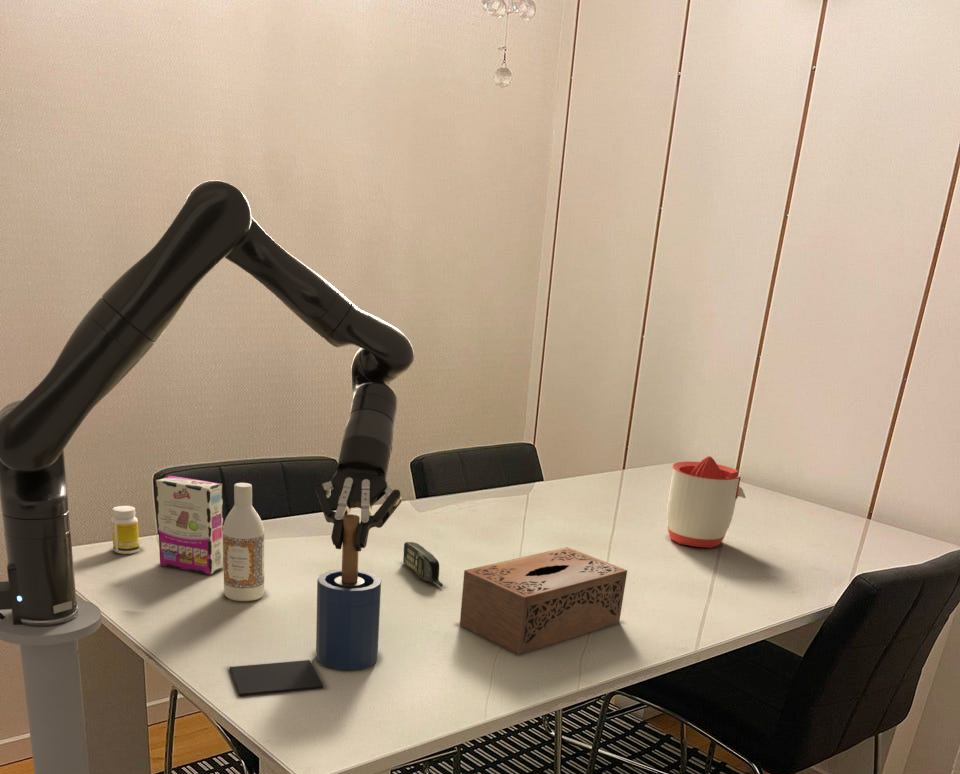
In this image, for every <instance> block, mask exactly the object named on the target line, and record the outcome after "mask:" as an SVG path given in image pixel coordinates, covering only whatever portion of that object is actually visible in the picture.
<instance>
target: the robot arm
mask: <svg viewBox="0 0 960 774" xmlns="http://www.w3.org/2000/svg"><path fill="white" fill-rule="evenodd" d="M177 213H178V214H177V215H176V217H175V218H174V219H173V221H172V222H171V224H170V225H169V226H168V227H167V229H166V231H165V232H164V234H163V235H162V236H161V238H160V239H159V240H158V241H157V243H156V244H155V245H154V246H153V247H152V248H151V249H150V250H149V251H148V252H147V253H146V254H145V255H144V256H143V257H141V258H140V259H139V260H138V261H137V262H135V263H134V264H133V265H131V267H130V268H128V269H127V270H126V271H125V272H124V273H123V274H122V275H121V276H119V278H117V280H115V281H114V283H113V284H111V285H110V286H109V287H108V289H106V290H105V292H103V294H102V295H101V297H99V299H98V300H97V301H96V302H95V303H94V305H92V306H91V308H90V309H89V310H88V311H87V313H86V314H85V315H84V316H83V318H82V319H81V321H79V323H78V324H77V326H76V327H75V329H74V330H73V332H72V333H71V335H70V336H69V338H68V340H67V341H66V343H65V345H64V346H63V348H62V350H61V352H60V353H59V355H58V357H57V359H56V361H55V363H54V364H53V366H52V367H51V368H50V370H49V371H48V373H47V374H46V376H45V377H43V379H42V380H41V381H40V382H39V384H37V386H35V387H34V388H33V390H31V392H29V393H28V394H27V395H26V396H25V397H24V398H23V399H20V400H15V401H12V402H10V403H8V404H6V405H5V406H4V407H2V409H1V410H0V508H1V509H0V510H1V516H2V525H3V533H4V534H3V535H4V543H5V551H6V560H7V563H6V564H7V565H6V571H7V573H6V574H7V581H0V610H7V609H12V616H13V624H14V625H26V626H33V627H48V626H56V625H61V624H64V623H67V622H70V621H72V620H74V619H75V618H76V617H77V616H78V606H77V600H76V599H77V591H76V589H77V588H76V579H75V569H74V567H75V566H74V555H73V547H72V534H71V522H70V511H69V496H68V483H67V482H68V481H67V473H66V462H65V461H66V460H65V448H66V446H67V445H68V443H69V442H70V441H71V439H72V437H73V436H74V434H75V433H76V431H77V430H78V429H79V427H80V426H81V425H82V424H83V422H84V421H85V419H86V417H87V416H88V415H89V414H90V413H91V411H92V410H93V409H94V408H95V407H96V406H97V405H98V404H99V403H100V402H101V400H103V399H104V398H105V397H106V396H107V395H108V394H109V393H110V392H112V390H113V389H114V388H115V387H116V386H117V385H118V384H119V383H120V382H122V380H123V379H124V378H125V377H126V376H127V375H128V374H129V372H131V371H132V369H134V368H135V367H136V365H138V363H139V362H140V361H141V360H142V359H144V356H145V355H146V354H147V353H148V352H149V351H150V350H151V349H152V347H153V346H154V345H155V343H156V342H158V340H159V339H160V338H161V336H163V334H164V332H165V331H166V330H167V329H168V327H169V326H170V324H171V323H172V322H173V320H174V319H175V317H177V315H178V313H179V311H180V310H181V309H182V307H183V306H184V304H185V303H186V301H187V299H188V298H189V296H190V295H191V294H192V292H193V291H194V289H195V288H196V287H197V286H198V284H199V283H200V282H201V281H202V280H203V279H204V278H205V277H206V276H207V275H208V274H209V273H210V272H211V271H212V270H213V269H214V268H215V267H216V266H217V265H218V264H219V263H221V261H222V260H223V259H225V260H227V261H229V262H231V263H232V264H234V265H235V266H237V267H238V268H239V269H241V270H243V271H244V272H245V273H247V274H248V275H250V276H251V277H252V278H254V279H255V280H256V281H257V282H258V283H260V284H261V286H264V288H266V290H268V291H269V292H270V293H271V294H272V295H274V297H276V298H277V299H278V300H279V301H280V302H281V303H283V305H284V306H286V307H287V309H289V310H290V311H291V312H292V313H293V314H294V315H295V316H296V317H297V318H299V319H300V320H301V321H302V322H303V323H304V324H305V325H307V326H308V327H309V328H310V329H312V330H313V331H314V332H315V333H317V334H318V335H319V336H320V337H321V338H322V339H324V341H326V342H327V343H328V344H330V345H331V346H333V347H334V348H339V349H340V348H344V347H347V346H356V347H359V349H358V350H357V351H356V353H355V355H354V357H353V360H352V364H351V367H350V377H351V390H352V396H353V397H352V399H351V403H350V410H349V415H348V420H347V422H346V425H345V428H344V432H343V436H342V441H341V447H340V452H339V456H338V460H337V461H338V462H337V467H336V472H335V473H334V475H333V476H332V477H331V480H329V481H326V482H322V481H317V480H316V481H315V482H314V484H313V486H314V489H315V493H316V496H317V499H318V501H319V505H320V507H321V510H322V513H323V516H324V519H325V521H326V522H327V523H329V524H330V523H332V524H333V527H332V532H331V535H330V536H331V537H330V539H331V542H332V545H333V546H334V547H335V549H336V550H342V542H343V516H344V515H349V514H350V513H351V510H352V508H358V509H360V522H359V523H358V529H357V534H356V540H355V549H356V551H359V552H362V549H365V548H366V547H367V545H368V538H369V534H370V533H369V532H370V530H371V529H373V528H377V529H380V528H382V527H383V526H384V525H385V524H386V523H387V522H388V520H389V519H390V518H391V517H392V515H393V513H395V511H396V510H397V509H398V508H399V506H400V505H401V503H402V494H401V491H400V490H399V489H392V488H391V487H389V486H388V482H387V477H388V470H389V465H390V460H391V454H392V452H393V443H394V442H393V441H394V427H395V421H396V416H397V410H398V397H397V393H396V392H395V390H394V389H393V388H392V387H390V384H391V383H392V382H393V381H394V380H396V379H398V377H400V376H401V375H403V374H405V373H406V372H407V371H408V370H409V369H410V368H411V367H412V366H413V363H414V361H415V351H414V348H413V345H412V343H411V341H410V340H409V338H408V337H407V336H406V335H405V334H404V333H403V332H402V331H401V330H400V329H398V328H397V327H395V326H393V325H392V324H390V323H388V322H386V321H385V320H382V319H381V318H379V317H377V316H374V314H371V313H369V312H366V311H364V310H362V309H360V308H359V307H358V306H356V305H355V304H354V303H353V302H352V301H351V300H350V299H348V297H346V296H345V295H344V294H343V293H342V292H340V291H339V290H338V289H337V288H336V287H335V286H333V284H331V283H330V282H328V280H326V279H325V278H324V277H322V276H321V275H320V274H319V273H317V272H315V271H314V270H313V269H311V268H310V267H309V266H307V265H306V264H304V262H302V261H301V260H299V259H298V258H297V257H295V256H293V255H292V254H291V253H289V252H288V251H287V250H286V249H284V248H283V247H282V246H281V245H280V244H279V243H277V242H276V240H274V239H273V238H272V237H271V236H270V235H269V234H268V233H267V232H266V231H265V230H264V229H263V228H262V227H261V225H260V224H259V223H258V222H257V221H256V220H255V219H254V217H253V216H252V211H251V206H250V204H249V201H248V199H247V197H246V195H245V194H244V193H243V192H242V191H241V190H240V189H239V188H238V187H237V186H235V185H234V184H231V183H230V182H227V181H223V180H218V179H217V180H216V179H215V180H214V179H213V180H212V179H211V180H207V181H206V180H205V181H203V182H201V183H199V184H198V185H195V187H194V188H193V189H192V190H191V191H190V192H189V193H188V194H187V196H186V198H185V200H184V203H183V205H182V207H181V209H180V210H179V211H178V212H177ZM332 490H333V491H334V492H335V494H336V496H337V497H338V501H337V508H336V511H334V510H332V508H331V505H330V501H329V498H330V497H331V496H332V494H331V493H332ZM383 497H384V498H383ZM382 498H383V499H384V502H383V503H382V504H381V505H380V506H379V507H378V509H377V510H376V512H374V514H373V506H374V505H375V504H377V502H378V501H379V500H380V499H382ZM372 514H373V515H372ZM4 618H5V616H4V615H3V614H2V613H0V619H1V620H3V619H4Z"/></svg>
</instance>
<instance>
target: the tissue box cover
mask: <svg viewBox="0 0 960 774" xmlns="http://www.w3.org/2000/svg"><path fill="white" fill-rule="evenodd" d="M627 575H628V569H624V568H622V567H619V566H616V565H615V564H612V563H609V562H607V561H604V560H601V559H599V558H597V557H594V556H591V555H588V554H586V553H583V552H580V551H578V550H576V549H573V548H570V547H568V546H567V547H562V548H557V549H553V550H548V551H544V552H540V553H535V554H530V555H527V556H522V557H518V558H513V559H509V560H505V561H500V562H496V563H490V564H487V565H482V566H478V567H474V568H469V569H464V571H463V581H462V593H461V604H460V605H461V606H460V617H459V626H461V627H463V628H465V629H467V630H469V631H471V632H473V633H475V634H477V635H478V636H481V637H482V638H485V639H486V640H489V641H491V642H493V643H495V644H497V645H498V646H501V647H503V648H505V649H507V650H509V651H511V652H512V653H514V654H517V655H521V654H525V653H528V652H532V651H535V650H537V649H540V648H544V647H547V646H550V645H554V644H557V643H560V642H563V641H566V640H570V639H572V638H575V637H578V636H579V637H580V636H582V635H585V634H588V633H592V632H594V631H597V630H598V631H599V630H601V629H605V628H608V627H610V626H613V625H616V624H619V623H620V621H621V614H622V608H623V602H624V594H625V589H626V588H625V587H626V583H627V582H626V581H627Z"/></svg>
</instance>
